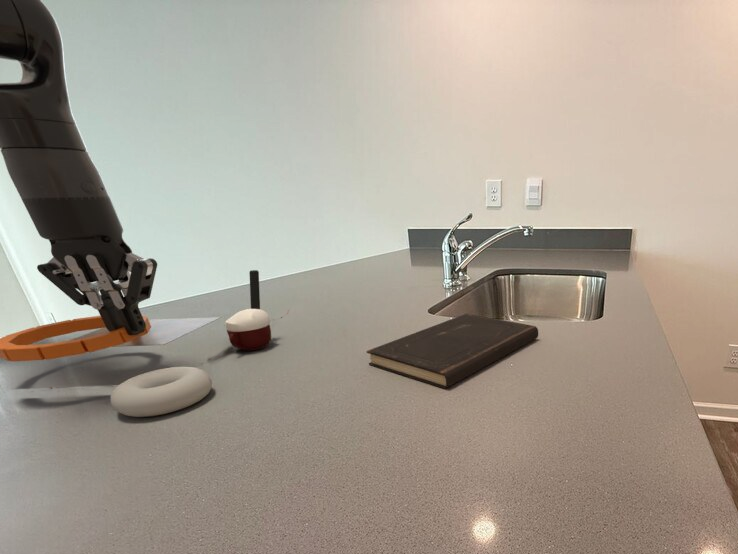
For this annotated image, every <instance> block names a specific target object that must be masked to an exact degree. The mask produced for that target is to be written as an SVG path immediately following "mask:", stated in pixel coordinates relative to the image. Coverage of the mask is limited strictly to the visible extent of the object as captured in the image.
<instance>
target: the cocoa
mask: <svg viewBox="0 0 738 554" xmlns="http://www.w3.org/2000/svg"><path fill="white" fill-rule="evenodd" d="M260 293H261V292H260V271H259V270H257V269H253V270H251V269H250V271H249V297H250V300H249V301H250V308H247V309H243V310H240V311H237V312H236V313H235V314H233V315H232V316H231V317H228V318H227V319H226V321H225V322H224V327H225V329H226V333H227V335H228V339H229V343H230V344H231V345H232V346H233V347H234V348H236V349H238V350H242V351H247V352H248V351H249V352H250V351H257V350H262V349H263V348H265V347H267V346H268V345H269V344H270V343H271V340H272V330H271V325H270V324H271V318H270V315H269V313H267V312H266V311H264V310H263V309H261V299H260V298H261V297H260Z"/></svg>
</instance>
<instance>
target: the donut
mask: <svg viewBox="0 0 738 554" xmlns="http://www.w3.org/2000/svg"><path fill="white" fill-rule="evenodd" d="M212 387H213V381H212V379H211V377H210V375H209V374H208V372H206V371H205V370H203V369H200V368H198V367H193V366H173V367H165V368H159V369H155V370H151V371H148V372H144V373H141V374H138V375H136V376H133V377H131V378H128V379H127V380H124V381H123V382H121V383H119V384H118V385H117V386H116V387H115V388H114V389H113V391H112V392H111V393H110V405H111V407H112V408H113V409H114V410H115V411H117V412H118V413H120V414H122V415H124V416H127V417H135V418H143V417H144V418H145V417H156V416H161V415H167V414H170V413H173V412H176V411H180V410H183V409H186V408H188V407H190V406H193V405H195V404H196V403H198V402H200V401H201V400H203V399H204V398H205V397H206V396H207V395H208V394H209V393H210V391H211V389H212Z"/></svg>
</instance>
